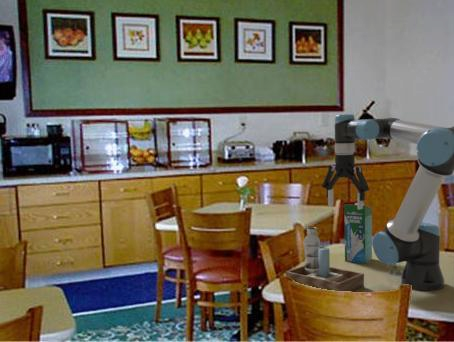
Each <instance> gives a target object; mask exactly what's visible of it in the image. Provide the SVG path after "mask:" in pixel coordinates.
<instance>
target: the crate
mask: <svg viewBox="0 0 454 342" xmlns="http://www.w3.org/2000/svg"><path fill="white" fill-rule="evenodd" d="M304 269H305V264H304V265H302V266H299V267H296V268H292V269H289V270H287V271H285V277H286V276H288V277H290V278H292V279H293V280H294V281H295V282H298V283H300V284H304V285H308V286H312V287H316V288H321V289H327V290H335V291H353V292H355V291H358V290H361V289H362V288H365V273H362V272H357V271H351V270H346V269H341V268H337V267H333V266H332V267H331V266H330V277H328V278H322V277H319V271H317V272H315V273H312V274H309V275H304Z"/></svg>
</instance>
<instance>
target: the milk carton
mask: <svg viewBox="0 0 454 342" xmlns="http://www.w3.org/2000/svg"><path fill="white" fill-rule="evenodd" d="M343 205H344V206H343V207H344V210H343V211H344V262H348V261H350V262H351V263H357V264H366V263H367V262H369V261H370V260H372V258H373V245H372V241H373V233H372V232H373V228H372V227H373V223H372V222H373V216H372V215H373V214H372V213H373V211H372V210H373V207H372V206H368V205H365V203H363V209H360V210H358V209H357V202H355V203H354V204H343Z"/></svg>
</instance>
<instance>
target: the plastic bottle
mask: <svg viewBox="0 0 454 342" xmlns="http://www.w3.org/2000/svg"><path fill="white" fill-rule="evenodd" d="M317 229H318V228H316V227H307V228H306V234H307V235H306V236H305V238H304V239H303V248H304V255H305V256H304V258H305V262H304V263H305V264H304V265H305V269H304V275H309V274H312V273H315V272H317V271H319V248H321V239H320V238H319V237H318V235H317V234H318V232H317V231H318V230H317Z"/></svg>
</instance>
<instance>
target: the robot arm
mask: <svg viewBox="0 0 454 342" xmlns="http://www.w3.org/2000/svg"><path fill="white" fill-rule="evenodd" d="M333 126H334V153H335V155H334V156H335V157H334V162H335V165H334V164H332V165H329V166H328V170H327V173H326V176H325V178H324V179H323V183H322V186H321V187H322V188H323V189H326V198H327V206H328V207H332V206H334V203H335V202H334V189H333V188H334V186H335V184H337V182H338V181H339V180H340V178H345V179H349V180H350V181H351V182H352V184H353V185H354V186H355V187H356V189H357V191H358V192H356V193H357V198H356V199H357V202H356V203H357V209H358V210H360V209H363V204H364V201H365V199H366V195H365V193H366V192H369V191H370V187H369V185H368V183H367V182H368V181H366V178H365V175H364V173H363V168H362V166H357V167H355V160H356V158H355V142H356V141H355V140H361V141H362V140H363V141H371V140H375V139H377V140H378V139H389V140H395V141H400V142H404V143H405V142H406V143H410V144H415V145H416V150H417V152H416V155H417V163H418V165H419V167H418V170H417V171H416V173H415V174H414V177H413V179H412V181H411V183H410V186H409V187H408V190H407V191H406V194H405V196H404V198H403V200H402V202H401V204H400V207H399V209H397V210H398V211H397V213H396V215H395V216H394V218H393V219H390V220H389V221H387V223H386V224H385V226H384V227H385V228H384V230H383V231H378V232H376V233H375V234H374V236H372V250H373V252H374V255H375V257H376V258H377V259H378V261H380V262H381V263H383V264H385V265H396V264H399V263H403V262H405V265H404V268H403V272H402V274H401V277H400V280H401V281H400V283H401V285H402V284H409V285H412V290H419V291H435V290H440V289H442V288H444V287H445V278H444V275H443V272H442V269H441V267H440V266H441V265H440V249H441V247H440V246H441V245H440V244H441V242H440V241H441V235H440V228H439V226H438V225H436V224H433V223H428V222H423V220H424V219H425V216H426V214H427V213H428V211H429V209H430V207H431V205H432V203H433V202H434V199H435V197H436V195H437V193H438V192H439V189H440V187H441V186H442V183H443V181H444V179H445V178H446V177H450V176H452V175H453V174H454V125H453V126H450V127H444V126H438V125H431V124H425V123H419V122H412V121H406V120H401V119H400V118H397V117H396V118H395V117H388V118H387V117H386V118H368V119H366V118H364V119H355V115H354V114H351V113H350V114H347V113H346V114H336V115H335V116H334V125H333ZM334 173H335V174H334Z"/></svg>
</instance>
